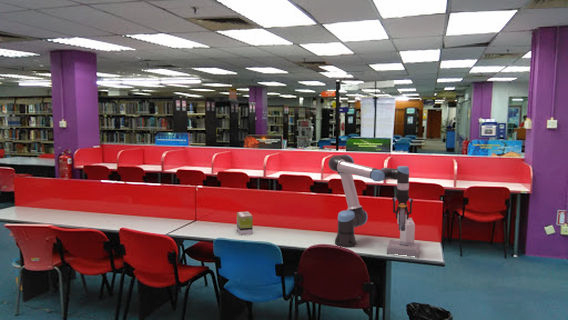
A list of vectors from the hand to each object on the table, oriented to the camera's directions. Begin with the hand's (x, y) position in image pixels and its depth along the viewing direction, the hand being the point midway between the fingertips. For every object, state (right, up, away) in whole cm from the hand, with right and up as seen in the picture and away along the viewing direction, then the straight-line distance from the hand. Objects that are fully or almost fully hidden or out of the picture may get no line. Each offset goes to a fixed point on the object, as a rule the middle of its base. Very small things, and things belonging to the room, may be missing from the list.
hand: (402, 223), depth 260 cm
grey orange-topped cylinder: (0, -4, 0) cm, 4 cm away
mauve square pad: (+2, -19, +2) cm, 19 cm away
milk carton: (+9, -18, +19) cm, 28 cm away
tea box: (-111, -14, +44) cm, 120 cm away
